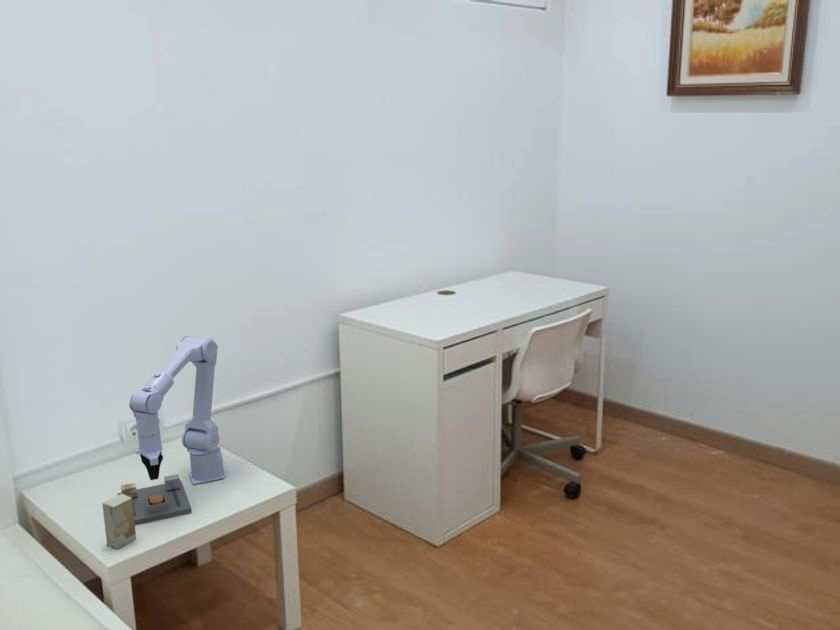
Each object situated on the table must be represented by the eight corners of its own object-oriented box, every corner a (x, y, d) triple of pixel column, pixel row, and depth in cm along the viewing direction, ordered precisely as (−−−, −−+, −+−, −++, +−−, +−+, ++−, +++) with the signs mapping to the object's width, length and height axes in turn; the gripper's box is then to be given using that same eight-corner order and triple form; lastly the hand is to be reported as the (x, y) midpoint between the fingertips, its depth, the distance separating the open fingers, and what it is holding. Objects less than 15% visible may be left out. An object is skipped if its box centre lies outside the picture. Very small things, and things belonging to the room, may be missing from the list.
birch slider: (136, 491, 227) (135, 482, 226) (137, 496, 224) (136, 487, 224) (121, 494, 225) (120, 485, 225) (122, 499, 223) (121, 490, 222)
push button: (162, 498, 222) (162, 493, 221) (164, 503, 219) (163, 498, 218) (149, 500, 220) (148, 495, 220) (150, 506, 217) (150, 501, 217)
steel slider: (178, 483, 232) (177, 473, 231) (180, 487, 229) (179, 478, 228) (164, 485, 230) (163, 476, 229) (166, 490, 228) (165, 481, 227)
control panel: (181, 484, 235) (180, 474, 234) (191, 512, 219) (190, 501, 218) (118, 497, 228) (116, 487, 227) (123, 527, 212) (122, 516, 211)
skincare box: (117, 550, 202) (111, 507, 198) (106, 545, 204) (100, 503, 201) (137, 538, 207) (132, 496, 204) (127, 533, 209) (121, 492, 206)
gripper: (130, 425, 218) (136, 469, 222) (136, 446, 206) (141, 492, 209) (157, 421, 221) (161, 464, 225) (164, 441, 209) (169, 487, 212)
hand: (154, 478), depth 217 cm, fingers closed
